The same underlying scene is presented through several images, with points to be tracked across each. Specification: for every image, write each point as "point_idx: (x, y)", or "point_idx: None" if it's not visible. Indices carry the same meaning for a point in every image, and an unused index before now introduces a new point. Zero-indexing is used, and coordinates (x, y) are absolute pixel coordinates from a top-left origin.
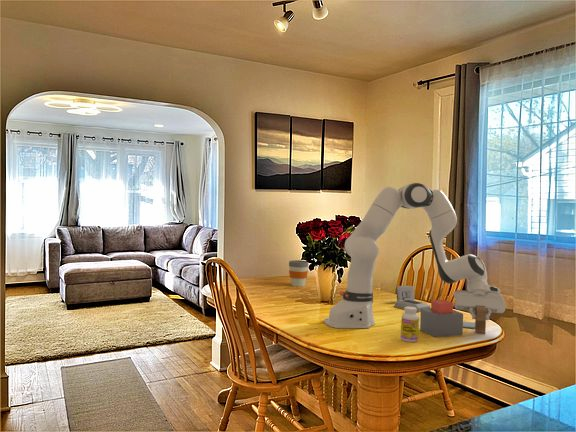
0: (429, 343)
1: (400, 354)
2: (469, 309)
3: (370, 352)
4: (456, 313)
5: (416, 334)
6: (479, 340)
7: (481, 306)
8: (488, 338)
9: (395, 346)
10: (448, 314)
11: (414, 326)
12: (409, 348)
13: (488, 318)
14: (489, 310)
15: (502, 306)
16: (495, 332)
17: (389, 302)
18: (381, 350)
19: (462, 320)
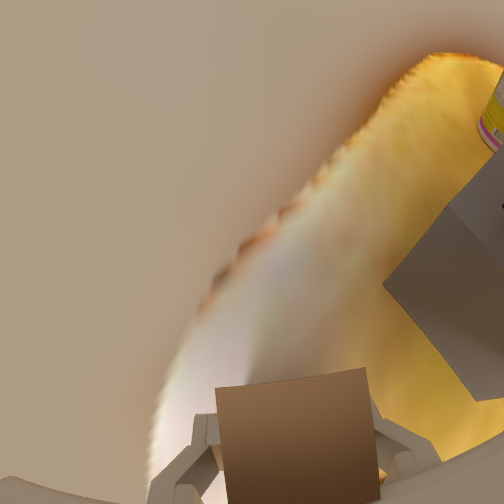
0: (445, 123)
1: (442, 56)
2: (430, 456)
3: (482, 64)
4: (483, 192)
5: (485, 108)
6: (283, 222)
7: (292, 465)
8: (229, 287)
9: (482, 92)
10: (497, 151)
11: (497, 83)
12: (454, 83)
13: (204, 414)
14: (172, 490)
15: (4, 494)
16: (169, 463)
17: None
18: (479, 72)
19: (425, 233)
